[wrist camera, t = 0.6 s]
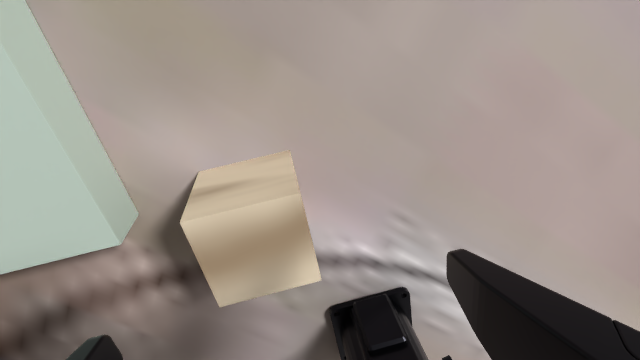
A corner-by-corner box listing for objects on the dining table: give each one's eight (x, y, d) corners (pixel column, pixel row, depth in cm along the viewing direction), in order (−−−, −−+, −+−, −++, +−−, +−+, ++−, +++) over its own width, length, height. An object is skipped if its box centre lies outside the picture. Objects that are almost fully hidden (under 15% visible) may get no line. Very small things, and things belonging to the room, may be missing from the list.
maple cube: (307, 223, 22) (321, 280, 18) (227, 243, 22) (219, 307, 17) (289, 149, 20) (300, 192, 15) (198, 171, 20) (179, 222, 15)
